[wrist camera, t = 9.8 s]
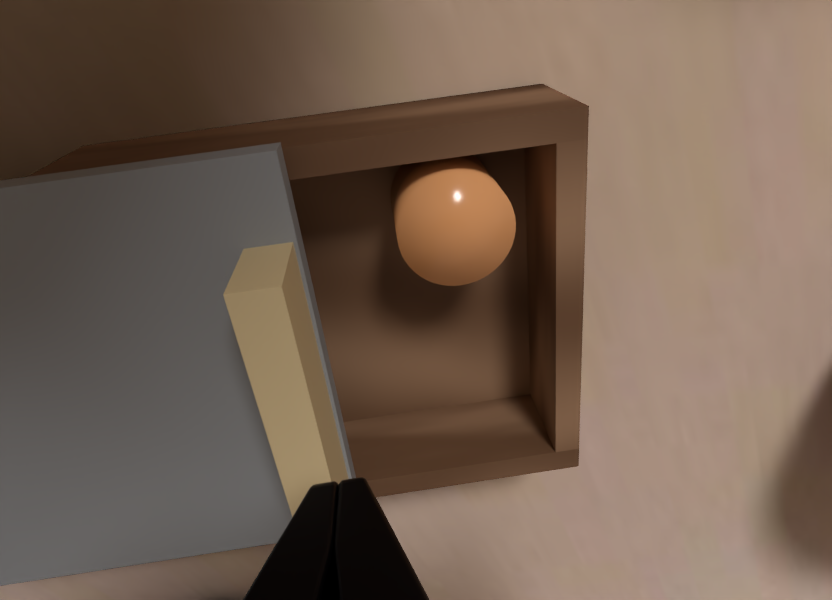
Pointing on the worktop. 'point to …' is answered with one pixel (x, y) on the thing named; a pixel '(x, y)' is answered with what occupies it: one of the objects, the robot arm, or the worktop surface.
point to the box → (423, 300)
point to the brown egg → (451, 219)
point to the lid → (158, 364)
